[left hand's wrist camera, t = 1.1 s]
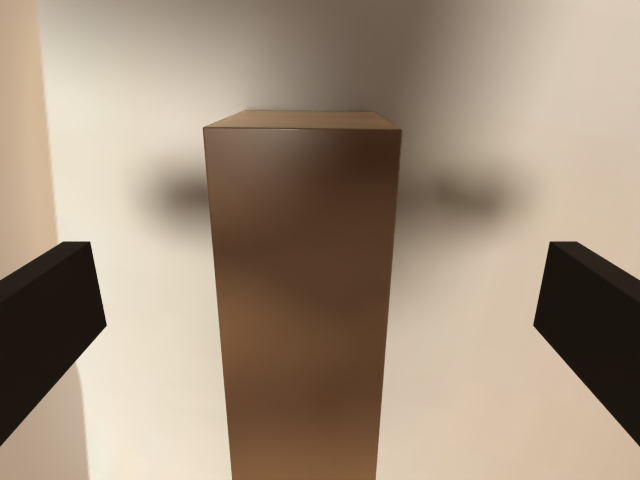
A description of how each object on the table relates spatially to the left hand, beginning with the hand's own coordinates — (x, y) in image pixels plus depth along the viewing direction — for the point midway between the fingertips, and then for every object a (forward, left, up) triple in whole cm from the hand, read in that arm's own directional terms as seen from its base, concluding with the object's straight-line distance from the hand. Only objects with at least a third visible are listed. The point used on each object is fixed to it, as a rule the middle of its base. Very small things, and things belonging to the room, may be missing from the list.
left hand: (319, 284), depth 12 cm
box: (+8, -1, -13) cm, 15 cm away
